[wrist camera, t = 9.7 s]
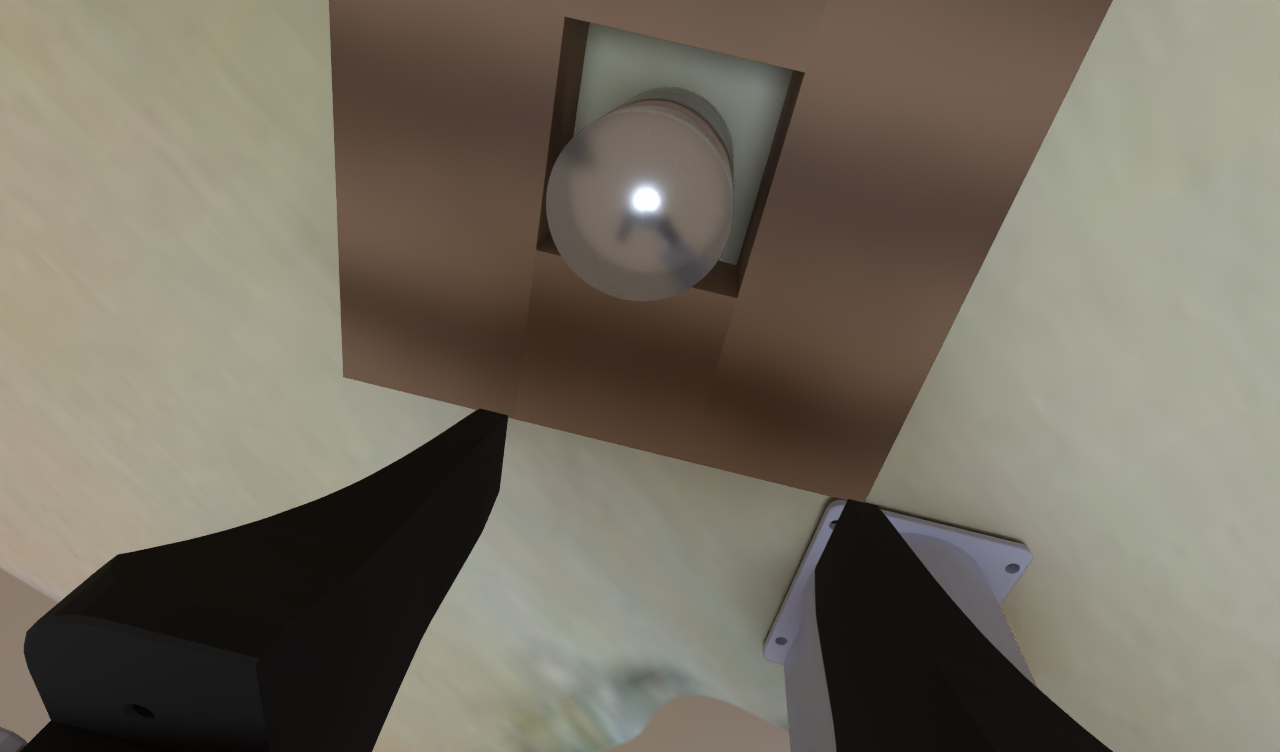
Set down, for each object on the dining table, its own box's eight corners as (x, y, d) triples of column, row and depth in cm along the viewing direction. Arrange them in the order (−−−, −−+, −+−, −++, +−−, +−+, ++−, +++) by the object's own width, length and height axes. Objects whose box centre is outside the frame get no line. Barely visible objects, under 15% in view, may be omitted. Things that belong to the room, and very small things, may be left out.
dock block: (848, 452, 24) (863, 504, 21) (386, 339, 24) (343, 376, 21) (1124, -153, 15) (1207, -193, 12) (386, -318, 15) (314, -393, 12)
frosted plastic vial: (703, 240, 20) (691, 326, 14) (588, 195, 20) (526, 263, 14) (754, 116, 19) (764, 155, 12) (628, 66, 18) (575, 80, 12)
